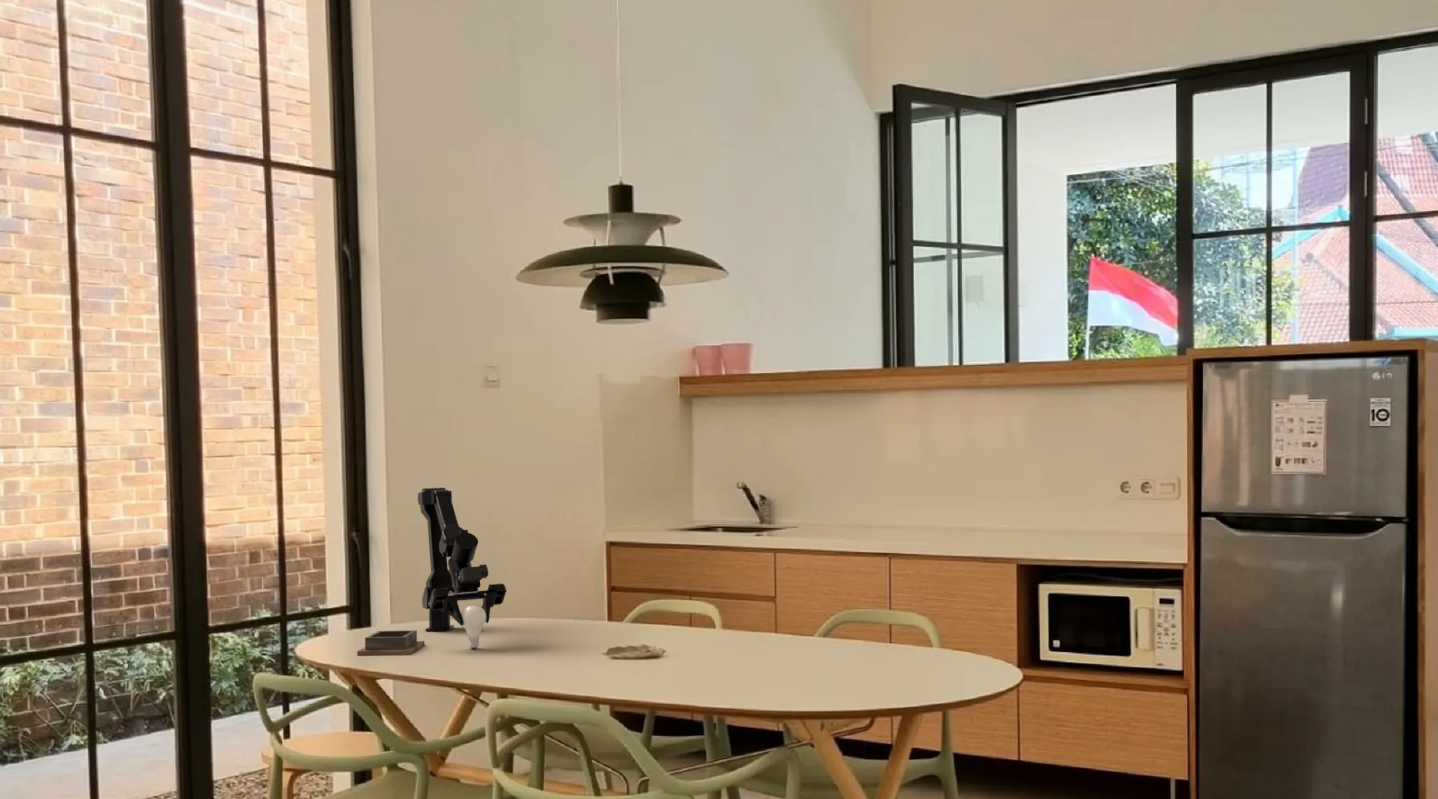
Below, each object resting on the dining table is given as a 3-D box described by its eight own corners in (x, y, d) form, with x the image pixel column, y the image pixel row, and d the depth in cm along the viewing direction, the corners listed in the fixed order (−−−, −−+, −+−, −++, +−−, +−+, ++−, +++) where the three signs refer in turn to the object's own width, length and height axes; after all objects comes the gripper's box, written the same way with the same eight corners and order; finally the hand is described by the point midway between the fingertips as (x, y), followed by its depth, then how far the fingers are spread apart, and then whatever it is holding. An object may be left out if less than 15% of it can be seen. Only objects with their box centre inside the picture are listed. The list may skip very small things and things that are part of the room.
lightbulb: (483, 651, 296) (483, 606, 296) (458, 651, 296) (457, 607, 297) (489, 646, 303) (488, 602, 303) (464, 646, 303) (463, 603, 303)
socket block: (374, 645, 307) (374, 630, 307) (424, 644, 306) (424, 629, 307) (357, 655, 294) (357, 639, 294) (409, 654, 294) (409, 638, 294)
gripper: (431, 557, 299) (443, 606, 289) (503, 552, 308) (517, 600, 298) (424, 584, 306) (435, 634, 296) (495, 579, 315) (508, 627, 305)
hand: (475, 623), depth 298 cm, fingers closed on lightbulb, 6 cm apart
